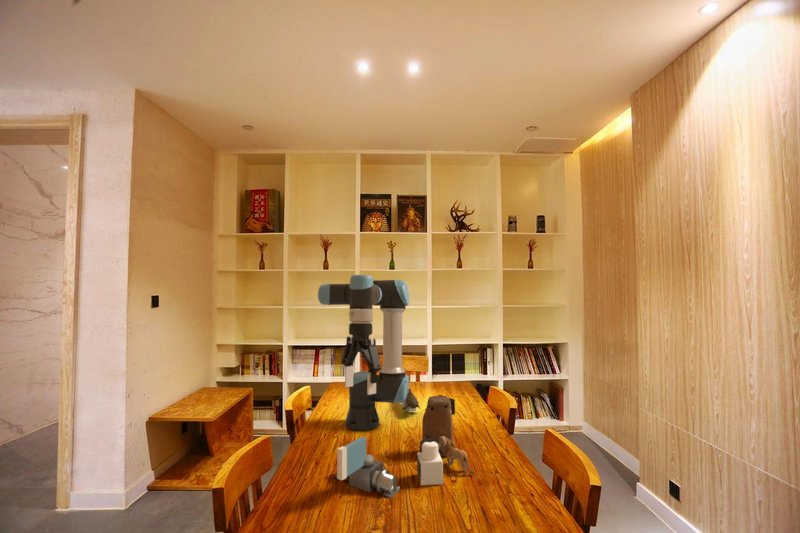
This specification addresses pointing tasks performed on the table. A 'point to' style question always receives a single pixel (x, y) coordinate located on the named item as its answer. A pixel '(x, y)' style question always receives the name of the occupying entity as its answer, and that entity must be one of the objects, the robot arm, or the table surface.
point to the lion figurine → (454, 454)
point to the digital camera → (451, 404)
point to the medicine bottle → (429, 463)
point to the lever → (352, 458)
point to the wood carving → (410, 402)
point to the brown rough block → (437, 419)
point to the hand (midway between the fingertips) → (359, 390)
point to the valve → (374, 479)
